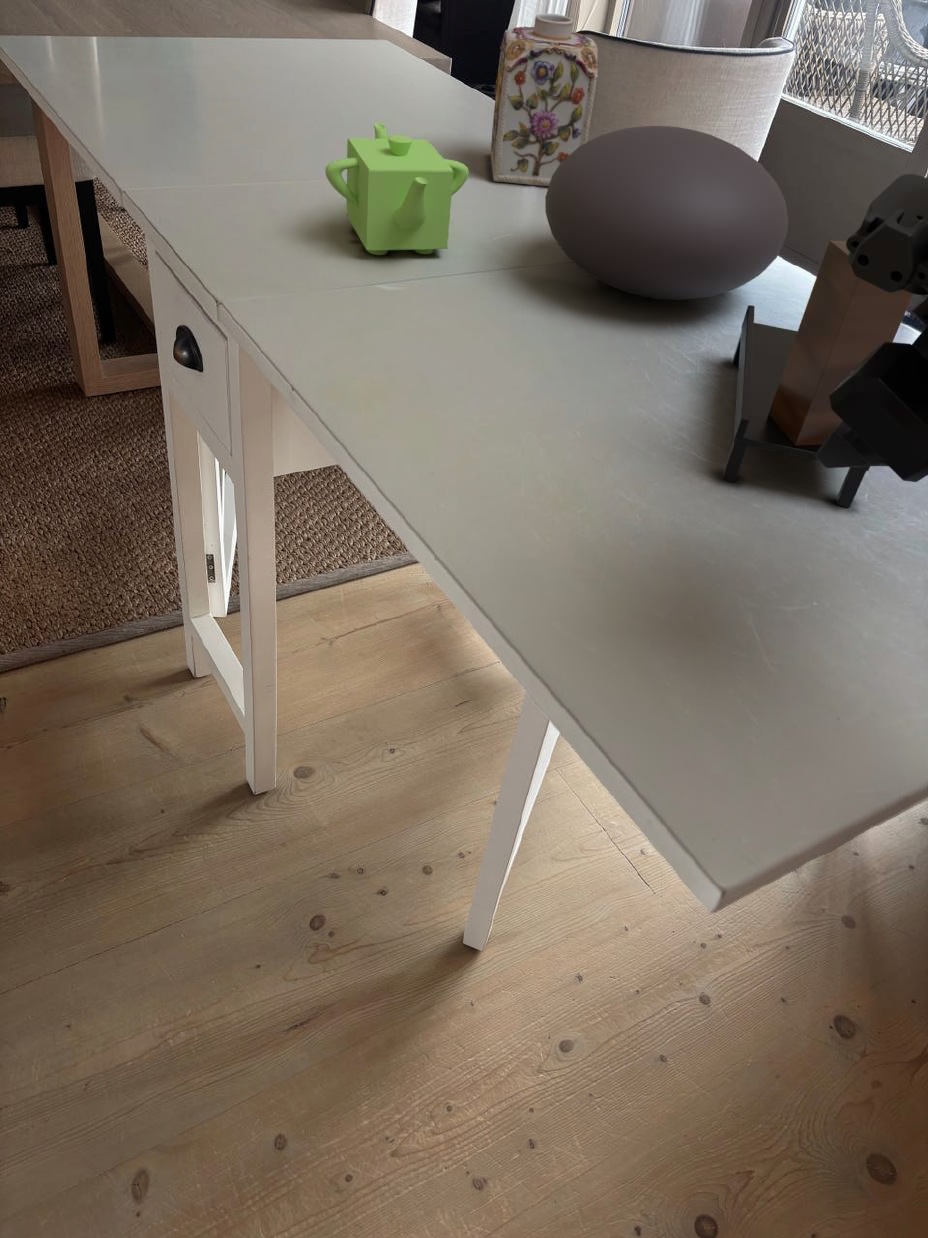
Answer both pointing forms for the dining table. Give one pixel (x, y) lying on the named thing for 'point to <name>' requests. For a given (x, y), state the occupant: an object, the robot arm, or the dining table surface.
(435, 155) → the teapot
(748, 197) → the smooth stone
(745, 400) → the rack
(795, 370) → the walnut block
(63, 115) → the dining table surface
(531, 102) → the decorative jar
